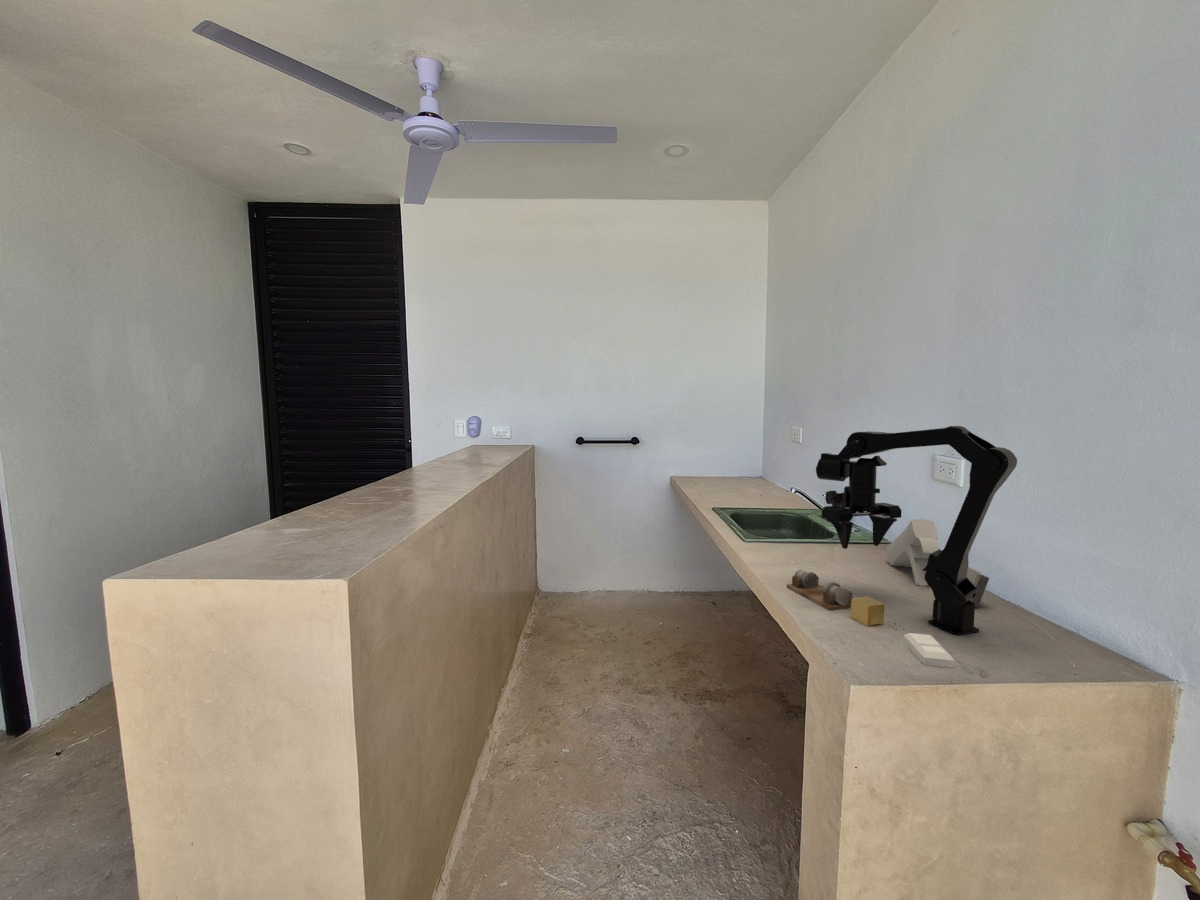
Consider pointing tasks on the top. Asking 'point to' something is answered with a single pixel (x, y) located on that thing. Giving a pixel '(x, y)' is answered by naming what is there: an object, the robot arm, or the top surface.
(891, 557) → the beige angular piece
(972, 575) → the electrical switch
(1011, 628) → the top surface
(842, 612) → the top surface
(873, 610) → the yellow hollow block
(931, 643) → the soap bar
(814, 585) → the pipe cradle
